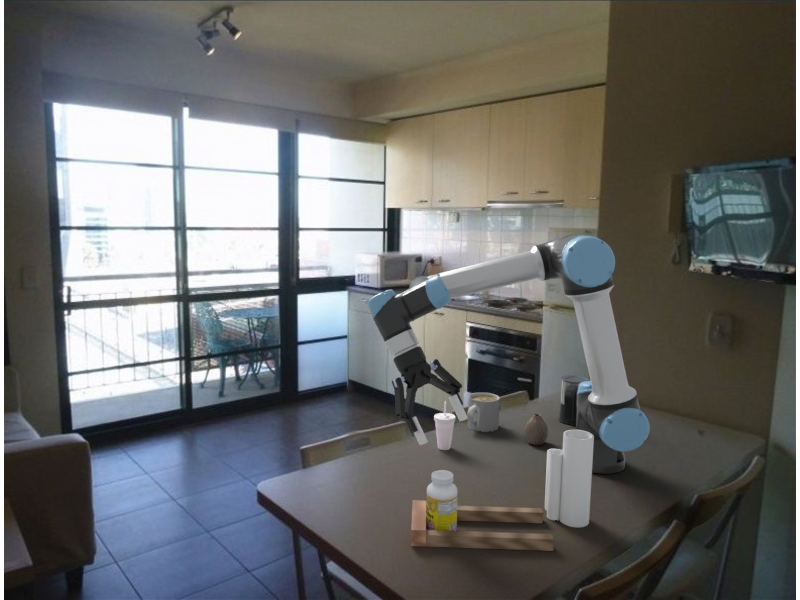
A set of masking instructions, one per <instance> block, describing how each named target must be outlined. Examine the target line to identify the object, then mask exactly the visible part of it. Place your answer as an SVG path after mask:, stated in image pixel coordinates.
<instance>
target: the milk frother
mask: <svg viewBox="0 0 800 600" xmlns="http://www.w3.org/2000/svg"><path fill="white" fill-rule="evenodd" d="M560 379H561V391H560V410H559V417H558V420H559V422H561V423H563V424H566V425H571V426H576V418H577V398H578V395H577V392H578V387H579V384H580V383H582V382H585V381H590V379H589V378H587V377H584V376H580V375H563V376H561V377H560Z"/></svg>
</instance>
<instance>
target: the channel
mask: <svg viewBox="0 0 800 600" xmlns="http://www.w3.org/2000/svg"><path fill="white" fill-rule="evenodd" d="M426 501H427V500H424V499H423V500H421V499H418V500H417V499H412V503H411V504H412V508H411V526H410V527H411V529H410V531H411V532H410V534H411V535H410V547H427V548H428V547H431V548H432V547H433V548H434V547H435V548H457V549H458V548H461V549H462V548H463V549H485V550H486V549H487V550H488V549H489V550H490V549H493V550H518V551H519V550H520V551H522V550H523V551H545V552H548V551H552V552H553V551H554V547H555V545H554V544H555V539H554V536H553V534H552V533H532V532H531V533H527V532H525V533H524V532H499V531H497V532H494V531H473V530H472V531H470V530H456V531H442V530H427V529H426ZM459 521H461V522H463V521H464V522H490V523H491V522H493V523H494V522H495V523H521V524H525V523H526V524H528V523H529V524H543V521H544V511H543V508H542V507H541V508H540V507H514V506H513V507H509V506H508V507H507V506H506V507H505V506H483V505H482V506H480V505H479V506H478V505H477V506H476V505H475V506H474V505H457V522H459Z"/></svg>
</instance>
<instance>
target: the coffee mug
mask: <svg viewBox="0 0 800 600" xmlns="http://www.w3.org/2000/svg"><path fill="white" fill-rule="evenodd" d="M467 404H468V405H467V408H468V409H467V413H466V415H467V417H468V419H466V420H467V427H468V428H469V429H471V430H472V431H475V432H479V431H481V432H482V433H489V431H491V432H495V431H497V430H499V427H500V426H499V423H500V422H499V421H500V420H499V418H500V416H499V415H500V396H499V395H497V394H494V393H491V392H473V393H470V394H469V395H468V401H467ZM494 430H495V431H494Z"/></svg>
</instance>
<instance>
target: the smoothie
mask: <svg viewBox="0 0 800 600" xmlns="http://www.w3.org/2000/svg"><path fill="white" fill-rule="evenodd" d="M456 419H457V418H456V416H455V414H454V413H449V412H447V401H446V400H444V402H443V412H439V413H435V414H434V416H433V420H434V424H435V434H436V443H437V449H438V450H440V451H441V450H442V451H448V450H451V447H452V446H451V445H452V440H453V434H454V433H453V432H454V426H455V421H456Z"/></svg>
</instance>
